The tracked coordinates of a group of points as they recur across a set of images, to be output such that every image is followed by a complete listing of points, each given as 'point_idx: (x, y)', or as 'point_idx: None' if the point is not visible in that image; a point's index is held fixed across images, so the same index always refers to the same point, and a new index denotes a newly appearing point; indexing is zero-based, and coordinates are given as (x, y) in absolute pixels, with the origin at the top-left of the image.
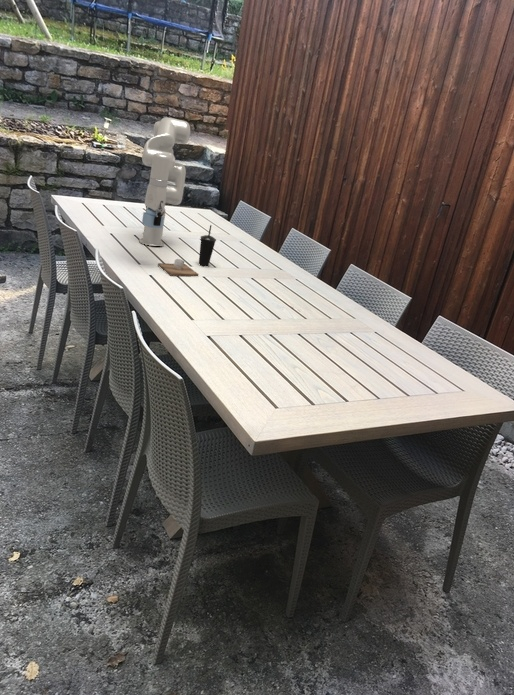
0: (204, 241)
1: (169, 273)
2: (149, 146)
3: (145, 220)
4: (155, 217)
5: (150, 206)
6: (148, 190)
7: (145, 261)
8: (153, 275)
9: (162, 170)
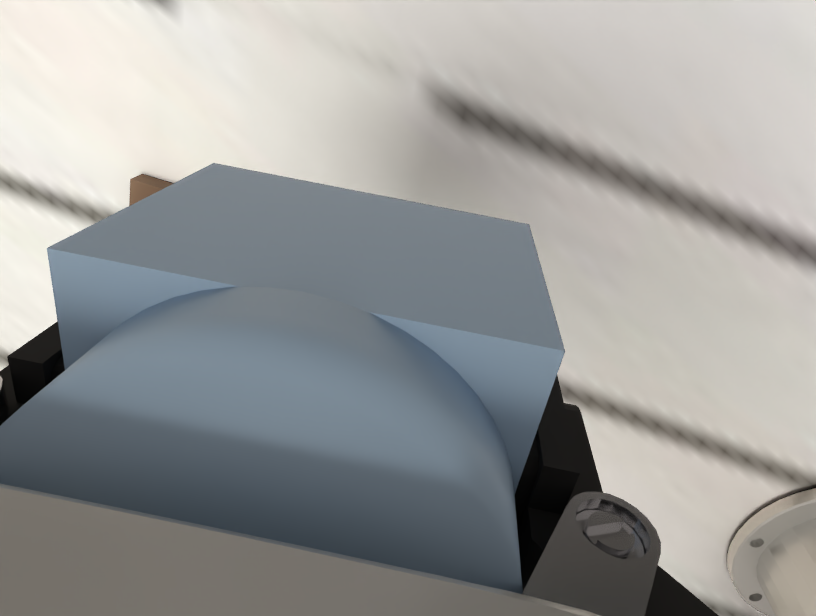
0: None
1: (160, 184)
2: None
3: (389, 231)
4: (29, 356)
5: (2, 571)
6: None
7: (497, 215)
8: (161, 23)
9: None
